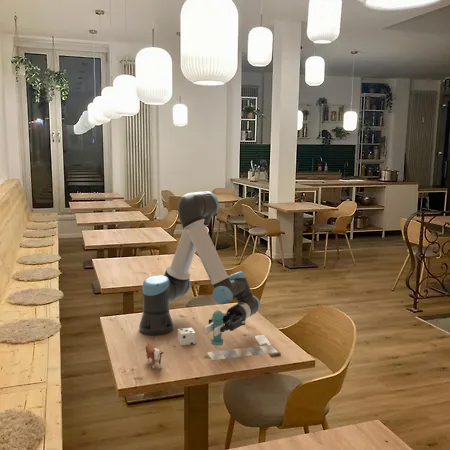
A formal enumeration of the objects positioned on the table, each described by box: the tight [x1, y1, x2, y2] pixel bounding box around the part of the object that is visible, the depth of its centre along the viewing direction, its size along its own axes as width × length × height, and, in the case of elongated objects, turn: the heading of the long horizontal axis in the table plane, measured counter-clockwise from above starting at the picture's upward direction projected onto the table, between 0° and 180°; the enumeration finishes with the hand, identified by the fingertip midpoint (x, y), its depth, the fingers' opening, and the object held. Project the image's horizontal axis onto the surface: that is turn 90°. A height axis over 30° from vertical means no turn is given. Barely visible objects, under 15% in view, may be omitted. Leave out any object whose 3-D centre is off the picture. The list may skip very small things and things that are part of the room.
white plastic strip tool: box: [254, 334, 272, 346], centre depth 207 cm, size 5×15×1 cm, turn 10°
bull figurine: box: [145, 342, 164, 370], centre depth 183 cm, size 4×13×8 cm, turn 24°
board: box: [206, 344, 282, 361], centre depth 194 cm, size 28×9×1 cm, turn 107°
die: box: [177, 327, 196, 346], centre depth 204 cm, size 6×6×6 cm
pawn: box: [210, 310, 224, 346], centre depth 189 cm, size 5×5×13 cm
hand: (210, 331), depth 184 cm, fingers closed on pawn, 3 cm apart
